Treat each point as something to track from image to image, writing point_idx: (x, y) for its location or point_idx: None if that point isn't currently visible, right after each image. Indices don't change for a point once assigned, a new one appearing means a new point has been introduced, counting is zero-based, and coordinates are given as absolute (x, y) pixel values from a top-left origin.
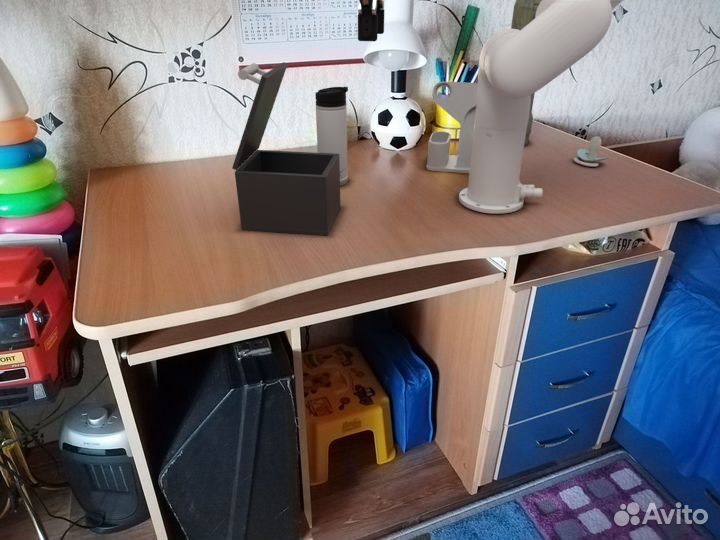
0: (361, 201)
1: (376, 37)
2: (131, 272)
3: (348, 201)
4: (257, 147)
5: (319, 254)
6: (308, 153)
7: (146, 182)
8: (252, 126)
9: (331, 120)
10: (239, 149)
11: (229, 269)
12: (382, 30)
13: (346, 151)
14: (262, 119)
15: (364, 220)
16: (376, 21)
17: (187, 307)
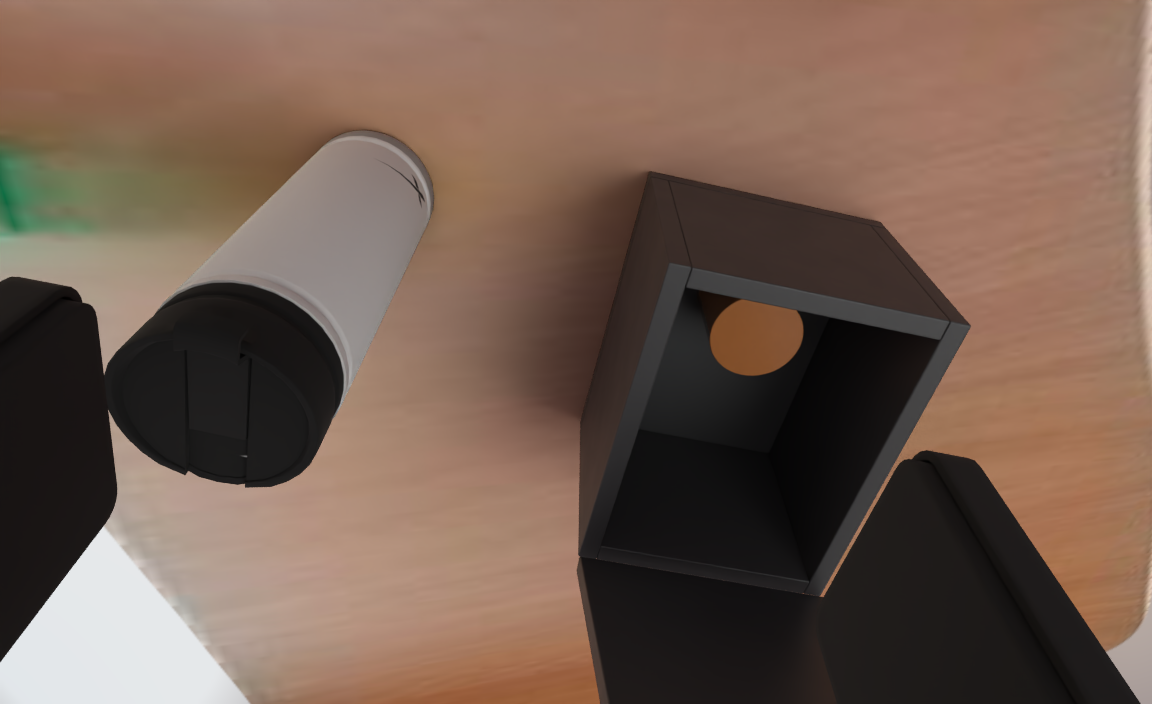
0: (589, 80)
1: (987, 484)
2: None
3: (585, 135)
4: (613, 567)
5: (1003, 248)
6: (648, 388)
7: (408, 691)
8: None
9: (364, 331)
10: None
11: (1002, 460)
12: (70, 323)
13: (346, 181)
14: (729, 656)
15: (781, 81)
16: (1114, 682)
17: (1144, 515)
